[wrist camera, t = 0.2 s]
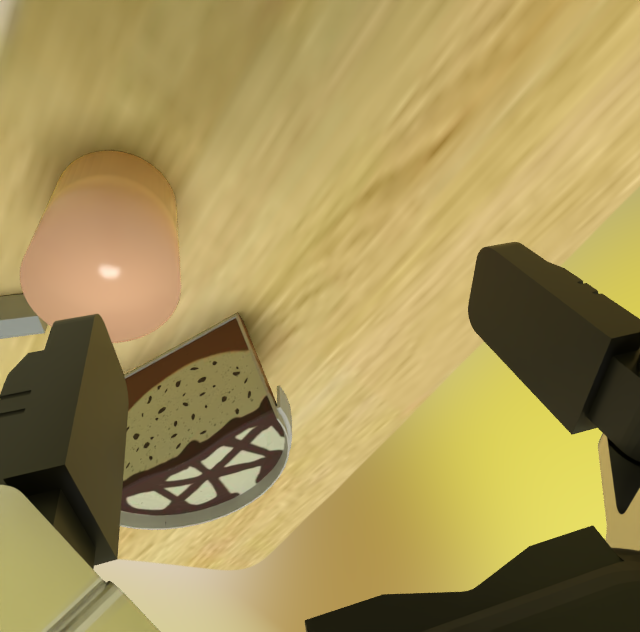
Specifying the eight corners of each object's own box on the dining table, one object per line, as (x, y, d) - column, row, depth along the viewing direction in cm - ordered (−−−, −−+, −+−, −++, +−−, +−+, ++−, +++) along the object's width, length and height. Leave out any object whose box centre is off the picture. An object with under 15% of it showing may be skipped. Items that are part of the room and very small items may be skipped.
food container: (158, 431, 36) (157, 558, 29) (102, 387, 32) (84, 521, 25) (296, 356, 35) (333, 467, 28) (256, 302, 31) (287, 413, 24)
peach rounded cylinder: (39, 153, 23) (-6, 226, 17) (166, 147, 24) (168, 212, 18) (74, 260, 26) (48, 352, 20) (183, 249, 28) (190, 332, 22)
